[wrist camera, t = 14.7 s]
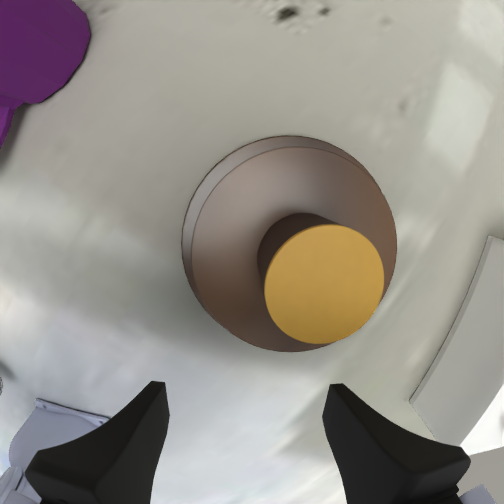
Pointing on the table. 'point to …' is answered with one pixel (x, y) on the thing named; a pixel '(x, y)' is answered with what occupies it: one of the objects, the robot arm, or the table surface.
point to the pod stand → (264, 216)
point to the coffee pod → (319, 278)
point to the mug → (37, 51)
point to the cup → (1, 385)
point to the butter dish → (470, 366)
